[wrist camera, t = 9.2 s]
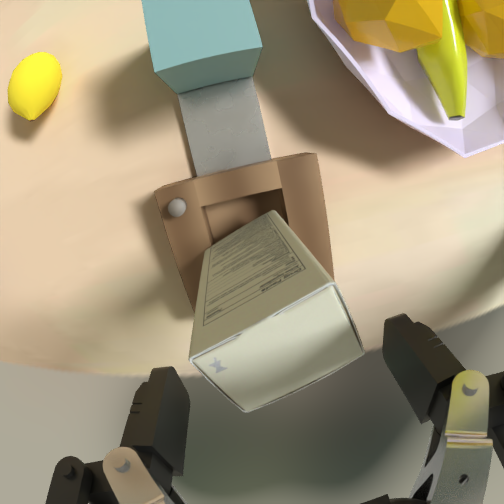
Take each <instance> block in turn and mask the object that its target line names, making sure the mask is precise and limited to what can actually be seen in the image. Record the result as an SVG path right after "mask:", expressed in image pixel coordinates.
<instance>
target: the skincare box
mask: <svg viewBox="0 0 504 504" xmlns="http://www.w3.org/2000/svg"><path fill="white" fill-rule="evenodd" d="M364 354H365V350H364V347H363V345H362V342H361V339H360V337H359V334H358V331H357V328H356V326H355V323H354V321H353V318H352V316H351V314H350V311H349V309H348V306H347V304H346V302H345V300H344V298H343V296H342V293H341V291H340V289H339V287H338V285H337V283H336V282H335V281H334V280H333V279H332V277H331V276H330V275H329V274H328V273H327V271H326V270H325V269H324V268H323V267H322V265H321V264H320V263H319V262H318V260H317V259H316V258H315V257H314V256H313V254H312V253H311V252H310V251H309V250H308V248H307V247H306V246H305V245H304V244H303V242H302V241H301V240H300V239H299V238H298V236H297V235H296V234H295V233H294V232H293V231H292V229H291V228H290V227H289V226H288V225H287V224H286V222H285V221H284V220H283V219H282V218H281V217H280V215H279V214H278V213H277V212H276V211H275V210H272V211H269V212H268V213H266V214H264V215H262V216H260V217H258V218H257V219H255V220H253V221H251V222H250V223H248V224H246V225H245V226H243V227H241V228H240V229H238V230H236V231H235V232H233V233H231V234H230V235H228V236H227V237H225V238H223V239H222V240H220V241H219V242H217V243H216V244H214V245H213V246H211V247H210V248H208V249H207V250H205V253H204V258H203V264H202V271H201V277H200V283H199V289H198V296H197V302H196V309H195V315H194V322H193V330H192V337H191V344H190V352H189V361H190V362H191V364H192V365H193V366H194V367H195V368H197V369H198V370H199V372H200V373H201V374H202V375H203V376H204V377H205V378H206V379H207V380H208V381H209V382H210V383H211V384H212V385H213V386H215V387H216V388H217V389H218V390H219V391H220V392H221V393H222V394H223V395H224V396H225V397H226V398H227V399H229V400H230V401H231V402H232V403H233V404H234V405H236V406H237V407H238V408H240V409H241V410H242V411H243V412H246V413H247V412H250V411H253V410H255V409H258V408H261V407H263V406H266V405H269V404H271V403H273V402H276V401H278V400H280V399H283V398H285V397H287V396H289V395H291V394H293V393H295V392H297V391H299V390H302V389H304V388H306V387H308V386H310V385H312V384H314V383H316V382H318V381H319V380H321V379H323V378H325V377H327V376H329V375H331V374H332V373H334V372H336V371H337V370H339V369H341V368H343V367H345V366H346V365H348V364H349V363H351V362H353V361H354V360H356V359H357V358H359V357H361V356H363V355H364Z"/></svg>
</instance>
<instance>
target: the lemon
mask: <svg viewBox="0 0 504 504" xmlns="http://www.w3.org/2000/svg"><path fill="white" fill-rule="evenodd" d="M61 80H62V72H61V68H60V64H59V62H58V61H57V60H56V58H55V57H54V56H53V55H51V54H48V53H46V52H38V53H35V54H32V55H30V56H28V57H27V58H25V59H23V60H22V61H21V62H20V63H19V65H18V66H17V67H16V68H15V69H14V71H13V73H12V76H11V79H10V82H9V86H8V103H9V105H10V107H11V108H12V110H13V112H14V113H16V114H18V115H20V116H22V117H23V118H25V119H27V120H29V121H34V120H35V119H36V118H37V117H38V116H39V115H41V114H42V113H43V112H44V111H45V110H46V109H47V108H48V107H50V106H51V104H52V102H53V101H54V99H55V98H56V96H57V94H58V92H59V89H60V84H61Z"/></svg>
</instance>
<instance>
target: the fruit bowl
mask: <svg viewBox="0 0 504 504" xmlns="http://www.w3.org/2000/svg"><path fill="white" fill-rule="evenodd" d="M307 3H308V6H309V10H310V13H311V17H312V19H313V20H314V21H315V23H316V24H317V25H318V27H319V28H320V29H321V31H322V32H323V34H324V35H325V36H326V38H327V39H328V40H329V42H330V43H331V45H332V46H333V48H334V49H335V51H336V52H337V54H338V55H339V57H340V58H341V60H342V61H343V63H344V64H345V66H346V67H347V68H348V69H349V70H350V71H351V72H352V73H353V74H354V75H355V77H356V78H357V79H358V80H359V81H360V82H361V83H362V84H363V85H364V86H365V87H366V88H367V89H368V90H369V92H370V93H371V94H372V95H373V96H374V97H375V98H376V100H377V101H378V102H379V103H380V104H381V105H382V107H383V108H384V109H385V110H386V111H387V113H388V114H389V115H391V116H393V117H394V118H396V119H398V120H399V121H401V122H403V123H404V124H406V125H408V126H409V127H411V128H412V129H414V130H416V131H418V132H420V133H422V134H424V135H426V136H428V137H430V138H431V139H433V140H435V141H437V142H439V143H440V144H442V145H444V146H446V147H447V148H449V149H451V150H452V151H454V152H456V153H457V154H459V155H461V156H462V157H464V158H466V157H469V156H471V155H474V154H476V153H479V152H482V151H484V150H487V149H490V148H492V147H495V146H497V145H500V144H503V143H504V0H307Z"/></svg>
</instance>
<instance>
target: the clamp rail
mask: <svg viewBox="0 0 504 504" xmlns="http://www.w3.org/2000/svg"><path fill="white" fill-rule="evenodd" d="M177 95H178V99H179V103H180V108H181V112H182V116H183V121H184V125H185V129H186V133H187V138H188V142H189V146H190V150H191V154H192V158H193V162H194V166H195V170H196V174H197V177H198V176H202V175H206V174H210V173H214V172H218V171H222V170H226V169H230V168H234V167H239V166H243V165H247V164H252V163H257V162H261V161H266V160H271V155H270V151H269V146H268V141H267V137H266V132H265V128H264V124H263V119H262V115H261V111H260V106H259V102H258V98H257V94H256V90H255V86H254V81H253V77H252V76H251V77H245V78H240V79H235V80H230V81H225V82H221V83H217V84H212V85H208V86H204V87H200V88H196V89H193V90H189V91H185V92H182V93H178V94H177Z"/></svg>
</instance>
